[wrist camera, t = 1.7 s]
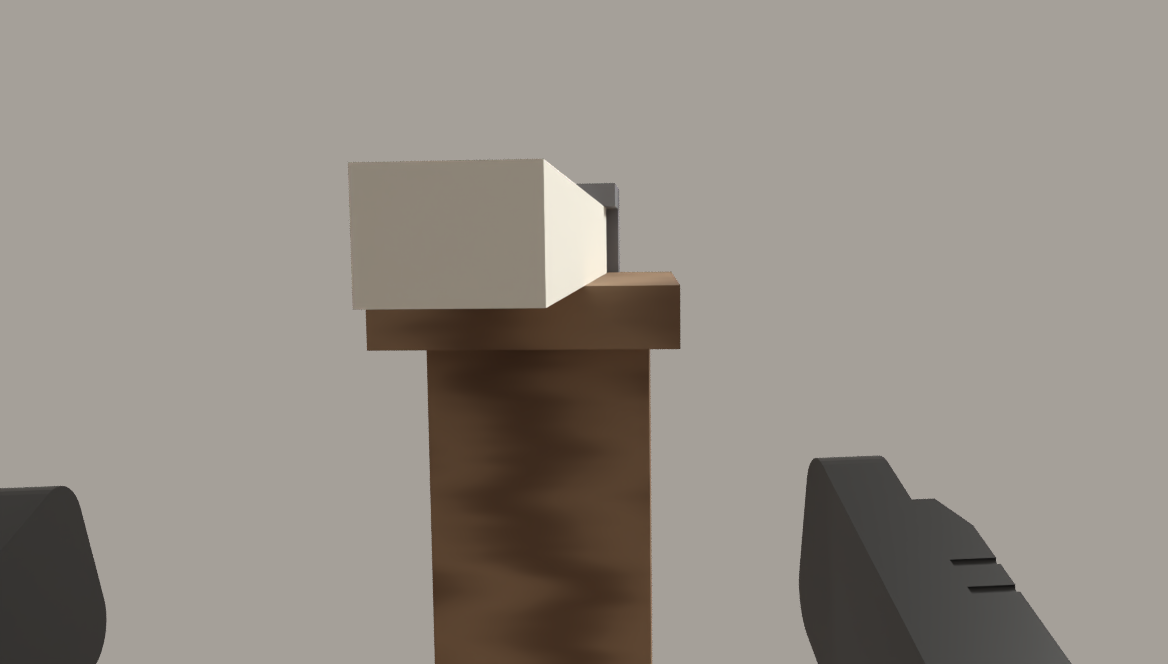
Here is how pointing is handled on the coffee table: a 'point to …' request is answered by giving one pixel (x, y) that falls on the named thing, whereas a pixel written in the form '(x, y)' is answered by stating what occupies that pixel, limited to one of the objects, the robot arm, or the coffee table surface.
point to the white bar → (476, 234)
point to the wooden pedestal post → (541, 470)
